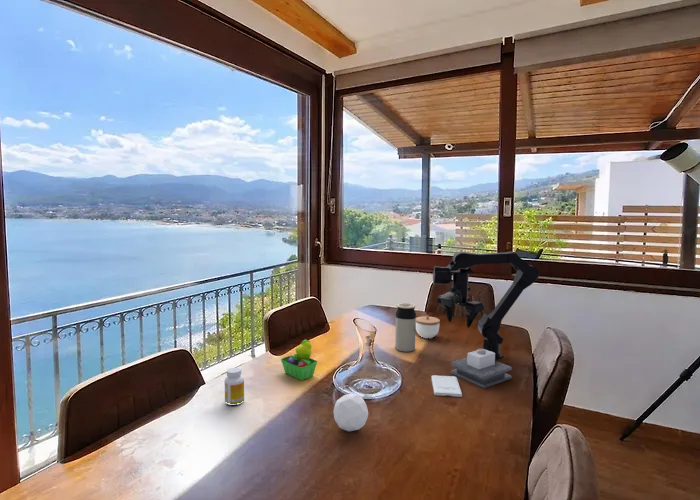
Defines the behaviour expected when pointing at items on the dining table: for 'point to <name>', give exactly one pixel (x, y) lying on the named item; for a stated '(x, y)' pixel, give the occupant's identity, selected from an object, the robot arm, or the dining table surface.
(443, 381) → the external hard drive
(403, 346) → the travel mug
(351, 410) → the white low-poly ball
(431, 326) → the lidded jar
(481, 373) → the stand
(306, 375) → the fruit basket
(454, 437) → the dining table surface
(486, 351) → the block
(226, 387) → the supplement bottle
